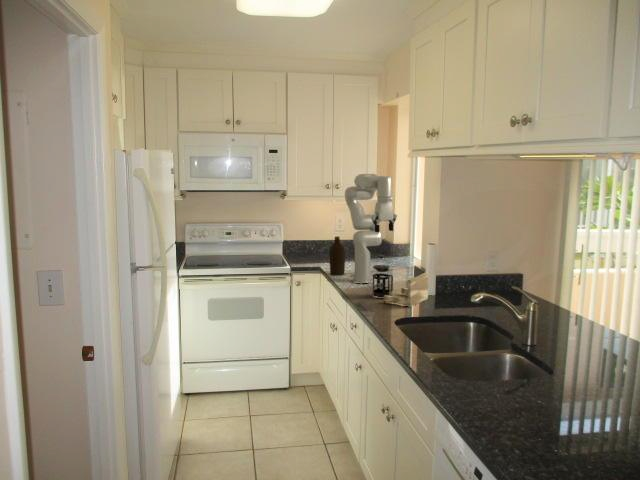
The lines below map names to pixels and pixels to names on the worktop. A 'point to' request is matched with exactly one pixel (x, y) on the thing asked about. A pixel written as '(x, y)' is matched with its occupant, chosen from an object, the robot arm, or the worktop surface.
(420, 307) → the worktop surface
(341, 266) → the olive oil
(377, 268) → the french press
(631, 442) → the worktop surface
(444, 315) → the worktop surface
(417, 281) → the shelf bay
